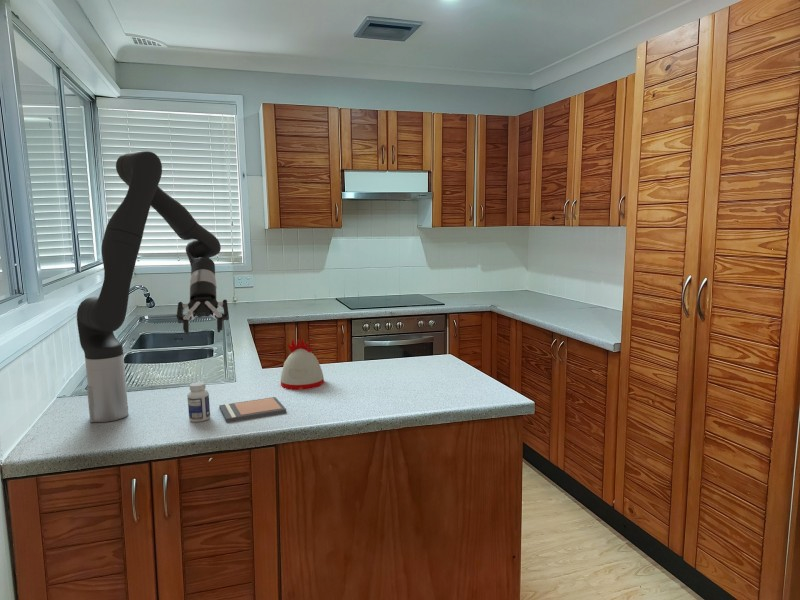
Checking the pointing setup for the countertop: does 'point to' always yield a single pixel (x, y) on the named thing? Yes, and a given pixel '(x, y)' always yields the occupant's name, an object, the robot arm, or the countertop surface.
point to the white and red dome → (301, 369)
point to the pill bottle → (198, 402)
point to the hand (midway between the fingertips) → (203, 331)
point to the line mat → (251, 409)
